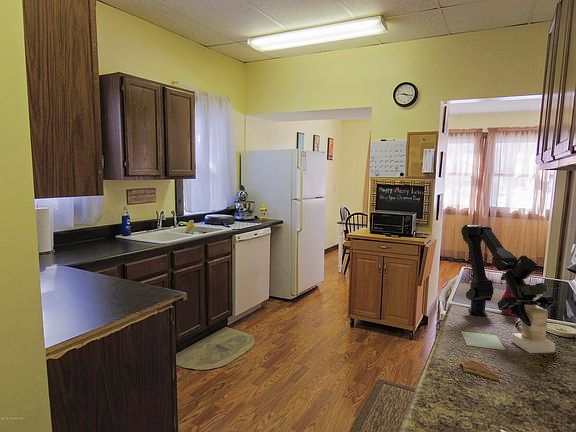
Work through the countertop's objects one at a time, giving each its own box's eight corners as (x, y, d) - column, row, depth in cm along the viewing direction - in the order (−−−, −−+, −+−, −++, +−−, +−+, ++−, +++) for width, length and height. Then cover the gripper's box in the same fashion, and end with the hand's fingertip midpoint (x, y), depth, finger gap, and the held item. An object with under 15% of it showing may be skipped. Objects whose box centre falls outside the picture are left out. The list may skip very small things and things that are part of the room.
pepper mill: (522, 315, 161) (526, 269, 159) (506, 314, 161) (509, 269, 159) (513, 309, 168) (516, 265, 166) (496, 309, 168) (500, 265, 166)
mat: (461, 332, 143) (461, 331, 143) (496, 336, 140) (496, 335, 140) (467, 345, 131) (467, 344, 131) (505, 350, 128) (505, 349, 128)
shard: (500, 383, 109) (501, 377, 108) (476, 384, 108) (476, 378, 108) (478, 364, 119) (478, 359, 119) (455, 365, 119) (456, 360, 118)
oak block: (521, 335, 133) (523, 305, 132) (534, 335, 133) (536, 305, 132) (531, 341, 128) (534, 310, 127) (545, 341, 128) (547, 310, 127)
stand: (511, 341, 135) (512, 333, 135) (534, 340, 136) (535, 332, 136) (530, 353, 126) (530, 344, 126) (554, 352, 127) (555, 343, 127)
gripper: (505, 274, 131) (525, 316, 122) (554, 274, 133) (577, 315, 123) (489, 289, 140) (507, 330, 130) (535, 288, 142) (556, 328, 132)
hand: (537, 325), depth 129 cm, fingers closed on oak block, 5 cm apart
